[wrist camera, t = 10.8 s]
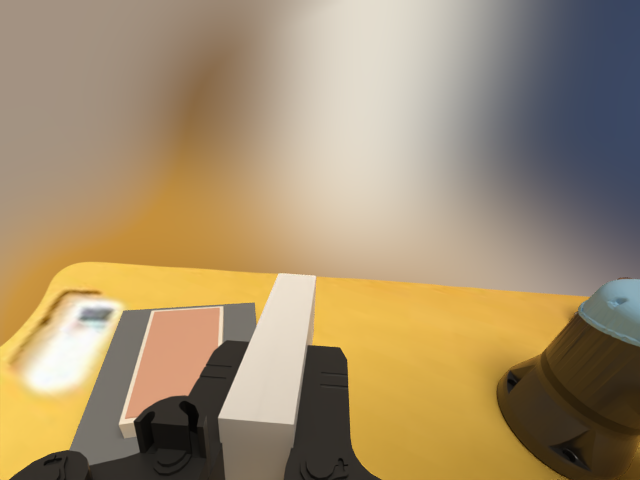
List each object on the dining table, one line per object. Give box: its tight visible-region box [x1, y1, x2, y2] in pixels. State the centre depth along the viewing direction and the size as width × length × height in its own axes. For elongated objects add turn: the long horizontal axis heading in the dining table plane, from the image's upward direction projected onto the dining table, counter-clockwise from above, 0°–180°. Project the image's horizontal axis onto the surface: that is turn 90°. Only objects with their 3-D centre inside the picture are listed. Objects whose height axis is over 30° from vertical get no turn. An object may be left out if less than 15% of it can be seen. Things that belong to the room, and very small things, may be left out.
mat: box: [70, 303, 256, 465], centre depth 40 cm, size 20×26×1 cm
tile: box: [119, 306, 224, 439], centre depth 40 cm, size 10×3×16 cm
